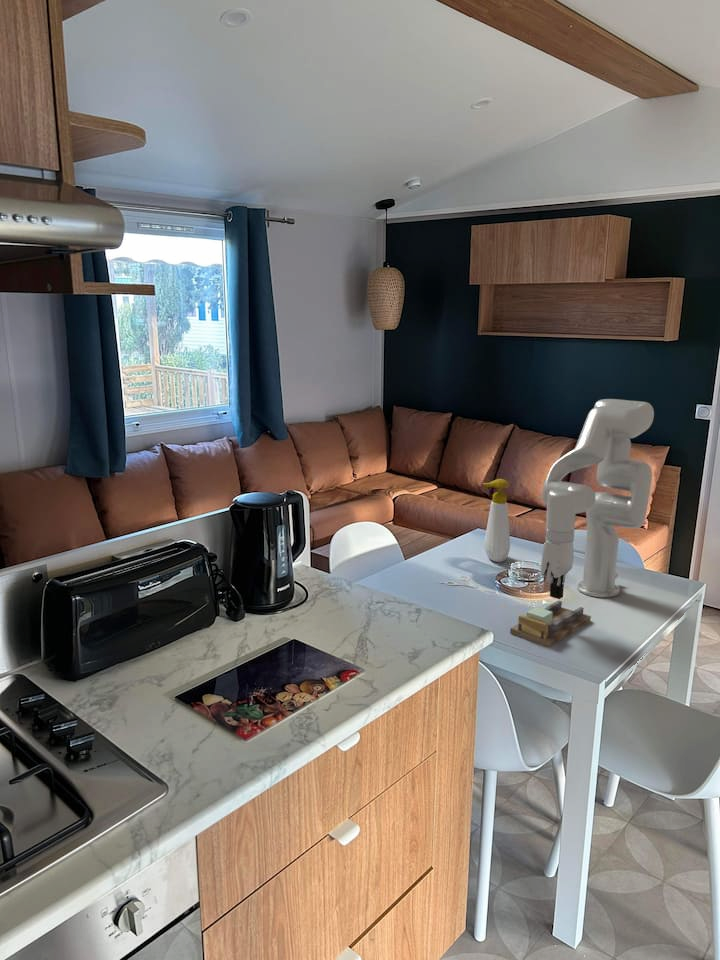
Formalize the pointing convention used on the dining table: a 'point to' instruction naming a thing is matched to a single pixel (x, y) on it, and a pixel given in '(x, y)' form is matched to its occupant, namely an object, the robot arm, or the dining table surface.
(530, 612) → the pale green cube
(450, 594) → the dining table surface
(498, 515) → the spray bottle
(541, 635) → the track
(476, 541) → the dining table surface
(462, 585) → the scissors
